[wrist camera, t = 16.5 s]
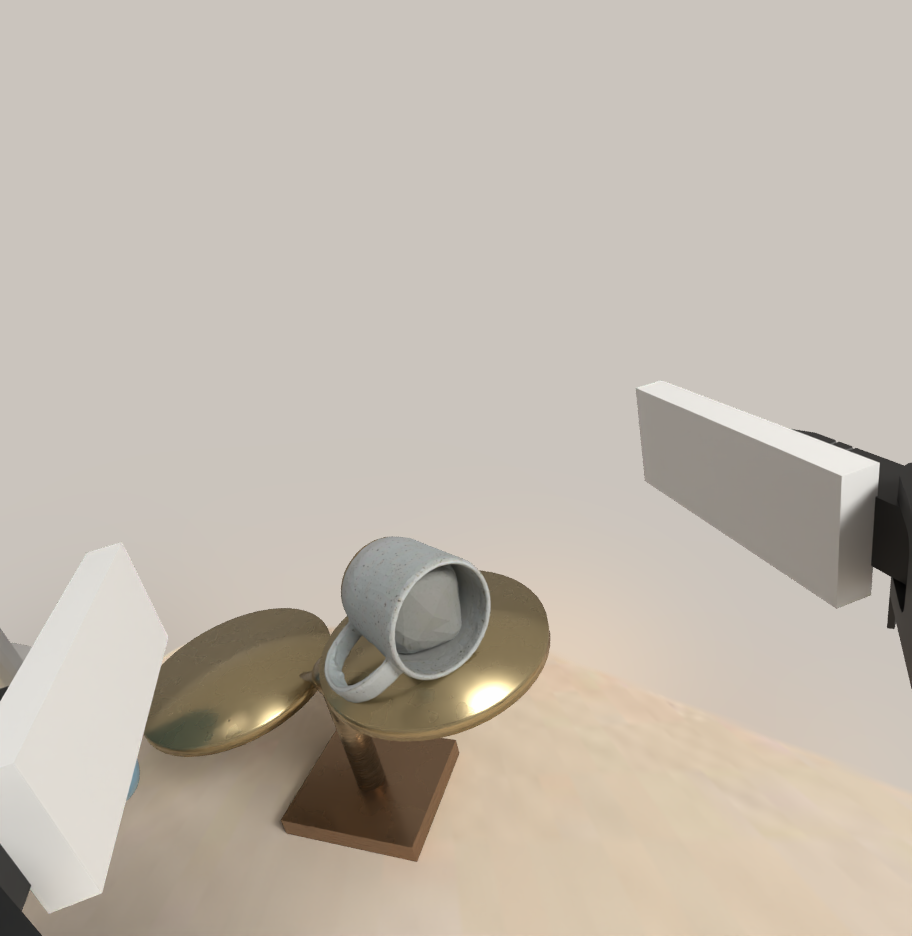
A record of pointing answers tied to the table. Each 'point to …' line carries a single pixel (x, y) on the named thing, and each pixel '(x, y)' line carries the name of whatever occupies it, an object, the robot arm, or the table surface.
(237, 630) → the balance
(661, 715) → the table surface
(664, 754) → the table surface
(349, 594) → the ceramic mug
